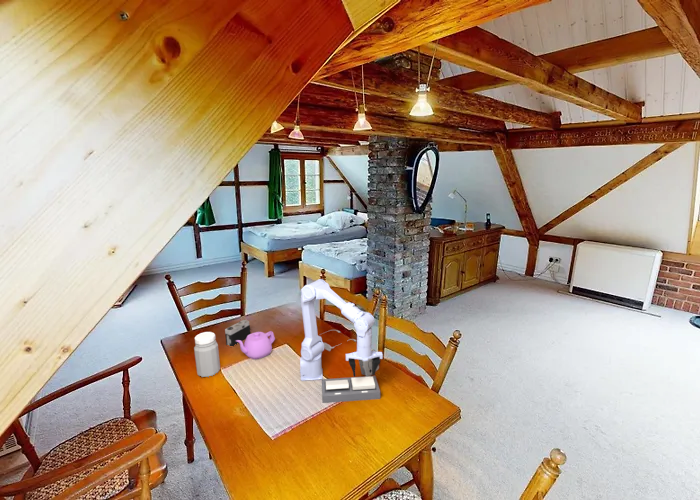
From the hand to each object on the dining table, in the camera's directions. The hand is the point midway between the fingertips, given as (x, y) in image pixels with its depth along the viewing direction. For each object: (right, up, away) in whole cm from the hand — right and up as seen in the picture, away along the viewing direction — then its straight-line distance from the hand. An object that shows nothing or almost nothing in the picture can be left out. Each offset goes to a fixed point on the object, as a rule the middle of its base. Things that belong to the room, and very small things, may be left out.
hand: (363, 374), depth 135 cm
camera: (-66, +1, +46) cm, 81 cm away
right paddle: (0, -5, +4) cm, 6 cm away
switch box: (-5, -8, +4) cm, 11 cm away
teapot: (-52, -2, +33) cm, 61 cm away
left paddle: (-11, -6, +2) cm, 13 cm away
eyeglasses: (-13, +1, +45) cm, 46 cm away
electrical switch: (+3, -5, +18) cm, 19 cm away
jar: (-69, -6, +17) cm, 72 cm away
